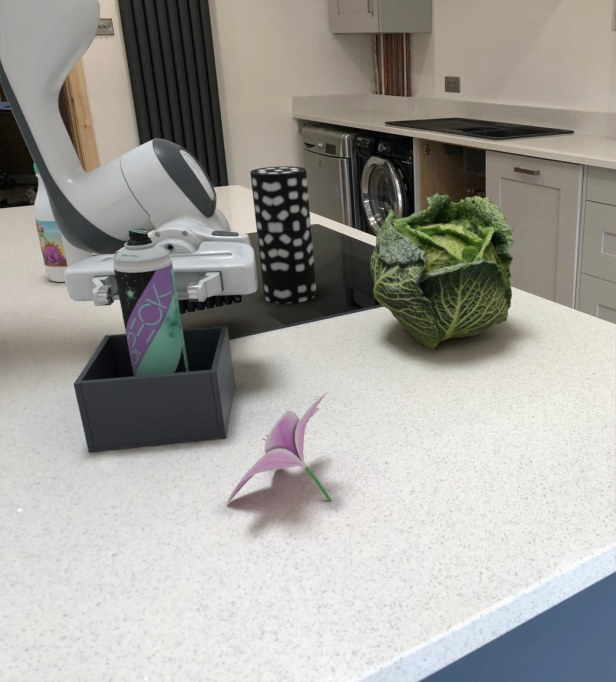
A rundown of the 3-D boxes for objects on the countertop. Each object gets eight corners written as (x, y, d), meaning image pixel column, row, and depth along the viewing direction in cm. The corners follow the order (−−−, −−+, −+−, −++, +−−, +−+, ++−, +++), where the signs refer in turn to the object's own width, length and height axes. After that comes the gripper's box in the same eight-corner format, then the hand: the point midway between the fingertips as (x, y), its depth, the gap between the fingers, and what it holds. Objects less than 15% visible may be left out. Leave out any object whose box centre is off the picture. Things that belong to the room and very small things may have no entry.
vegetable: (414, 395, 100) (406, 296, 84) (354, 303, 110) (337, 200, 95) (535, 338, 106) (549, 236, 90) (467, 256, 117) (469, 152, 101)
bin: (88, 452, 73) (73, 383, 70) (117, 395, 85) (105, 335, 82) (226, 438, 75) (216, 371, 72) (235, 384, 87) (227, 325, 84)
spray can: (138, 406, 81) (105, 227, 74) (190, 395, 83) (162, 221, 76) (144, 426, 77) (109, 239, 69) (198, 415, 79) (170, 232, 72)
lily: (342, 457, 73) (290, 378, 71) (399, 462, 64) (340, 371, 61) (244, 538, 67) (184, 454, 65) (291, 557, 58) (221, 460, 55)
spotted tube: (255, 294, 119) (240, 170, 112) (300, 284, 124) (289, 164, 117) (279, 307, 113) (265, 176, 106) (326, 296, 118) (316, 170, 111)
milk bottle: (89, 268, 135) (67, 157, 128) (101, 277, 130) (79, 161, 122) (43, 276, 130) (17, 161, 123) (54, 285, 125) (28, 166, 118)
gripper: (84, 238, 86) (35, 271, 73) (261, 232, 88) (244, 263, 76) (94, 289, 89) (48, 330, 76) (267, 282, 91) (251, 320, 78)
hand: (148, 296), depth 76 cm, fingers open, 8 cm apart
